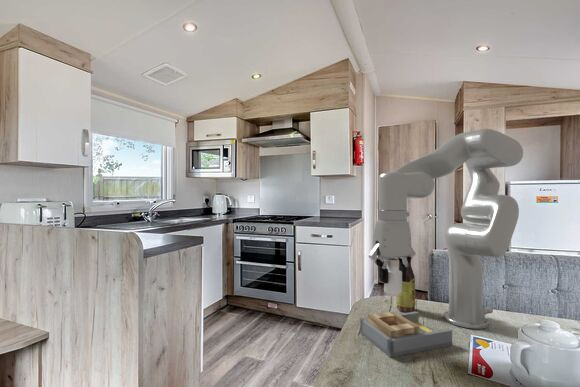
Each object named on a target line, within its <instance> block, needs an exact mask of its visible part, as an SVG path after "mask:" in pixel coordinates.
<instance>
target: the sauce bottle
mask: <svg viewBox="0 0 580 387" xmlns="http://www.w3.org/2000/svg"><path fill="white" fill-rule="evenodd" d="M396 308H397V310H398V311H401V312H404V313H409V312H415V310H416V276H415V273H414V271H413V268H412V260H411V261H410V262H409V263H408V267H406V281H405V282H403V281H402V293H400V294H399V295H397V296H396Z"/></svg>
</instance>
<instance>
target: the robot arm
mask: <svg viewBox="0 0 580 387" xmlns="http://www.w3.org/2000/svg"><path fill="white" fill-rule="evenodd" d="M523 158H524V149H523V146H522V144H521V143H520V142H519V141H518V140H516V139H515V138H514V137H510V136H509V135H507V134H505V133H503V132H501V131H498V130H495V129H492V128H482V129H476V130H472V131H465V132H461V133H459V134H456V135H454V136H453V137H451V138H450V139H448V140H447V141H445V142H444V143H443V144H442V145H440V146H439V147H438V148H436V149H435V150H434V151H431V152H430V153H427V154H424V155H422V156H421V157H419V158H416V159H415V160H412V161H410V162H408V163H405V164H404V165H402V166H401V167H399V168H398V169H396V170H395V171H389V172H383V173H380V175H379V176H378V220H376V221H375V224H374V229H373V236H372V250H371V251H370V253H369V254H368V258H369V259H370V260H371V261H373V263H374V264H376V267H378V277H379V282H381V283H383V284H384V283H386V284H387V283H388V268H387V263H388V259H389V258H396V259H399V270H400V271H401V272H402V281H403V282H405V281H406V267H408V263H409V262H410V261H411V262H412V259H413V258H414V257H415V256H416V252H415V250H414V249H413V247H412V235H411V228H410V227H411V226H410V223H409V221H408V217H410V212H409V211H408V199H424V198H427V197H429V196H431V195H432V194H433V193H434V192H435V188H436V183H435V179H439V178H441V177H445V176H448V175H451V174H452V173H453V172H455V171H456V170H457V169H458V168H460V167H462V165H463V164H465V166H466V168H467V170H468V173H469V177H470V184H469V186H468V189H467V192H466V195H465V197H464V199H463V202H462V205H461V210H460V215H461V217H462V219H463V220H465V221H466V223H465V222H459V223H458V222H456V223H453V224H451V225H450V226H448V228H447V229H446V231H445V244H446V248H447V253H448V310H446V311H445V312H443V319H444V320H446V321H447V322H448V323H450V324H452V325H455V326H458V327H461V328H467V329H472V330H473V329H475V330H479V329H480V330H482V329H486V328H488V327H489V325H490V324H489V320H488V318H486V315H488V314H492V313H493V312H494V309H493V308H492V307H491V306H488V307H487V306H486V307H484V306H483V305H484V298H483V297H484V282H483V281H484V268H483V265H482V261H481V260H480V258H479V257H478V256H480V257H486V258H490V259H491V258H492V259H499V258H502V257H504V255H505V254H507V252H508V249H509V247H510V244H511V241H512V239H513V235H514V233H515V229H516V226H517V224H518V220H519V216H520V208H519V204H518V202H517V200H516V199H515V198H514V197H513V196H511V195H508V194H507V195H506V194H499V192H500V187H501V186H500V181H499V180H498V177H497V176H496V175H495V174H494V173H493V171H492V169H494V168H495V169H496V168H507V167H508V168H509V167H514V166H516V165H518V164H519V163H521V161H522V159H523ZM467 222H469V223H467Z"/></svg>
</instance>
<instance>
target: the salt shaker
mask: <svg viewBox="0 0 580 387" xmlns="http://www.w3.org/2000/svg"><path fill="white" fill-rule="evenodd" d="M386 269H388V283H387V284H386V283H383V289H384V294H388V295H391V296H396V297H397V295H399V294H400V293H402V272H401V271H400V270H399V259H397V258H389V259H388V263H387V267H386Z"/></svg>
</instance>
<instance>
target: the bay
mask: <svg viewBox="0 0 580 387" xmlns="http://www.w3.org/2000/svg"><path fill="white" fill-rule="evenodd" d="M398 314H399V315H401V316H402V317H404V318H406V319H407V320H409V321H411V322H413V323H414V324H416V325H418V326H419V334H415V335H409V336H403V337H397V338H392V339H391V338H389V337H388V336H387V335H385V334H384V333H383V332H381V331H380V330H378V329H377V328H376V327H374V326H373V325H372V324H370V323H369V322H368V317H367V318H361V319H360V326H359V327H360V329H359V330H360V332H359V333H360V334H361V335H362V336H364V338H366V339H367V340H368V341H369V342H371V343H372V344H373V345H374V346H376V347H377V349H379V350H381V351H382V353H383V354H385V355H386V356H388V357H389V358H393V357H399V356H404V355H409V354H413V353H418V352H419V353H420V352H424V351H429V350H434V349H439V348H444V347H449V346H453V330H452V329H450V328H444V329H439V330H433V329H431V328H429V327H427V326H426V325H424V324H422V323H421V322H419V321H420V319H419V317H420V316H419V314H420V313H419V312H418V311H415V310H414V311H413V312H404V313H398Z"/></svg>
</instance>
